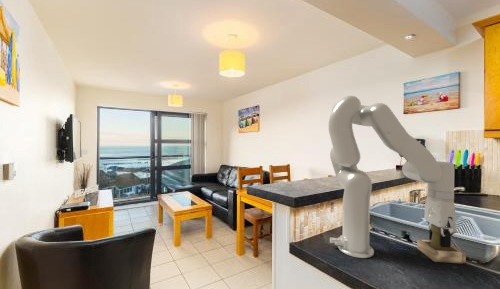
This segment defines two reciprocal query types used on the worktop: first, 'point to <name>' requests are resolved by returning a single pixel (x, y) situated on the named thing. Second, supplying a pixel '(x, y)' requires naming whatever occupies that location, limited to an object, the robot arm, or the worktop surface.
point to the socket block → (441, 253)
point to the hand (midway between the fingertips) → (439, 242)
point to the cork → (437, 239)
